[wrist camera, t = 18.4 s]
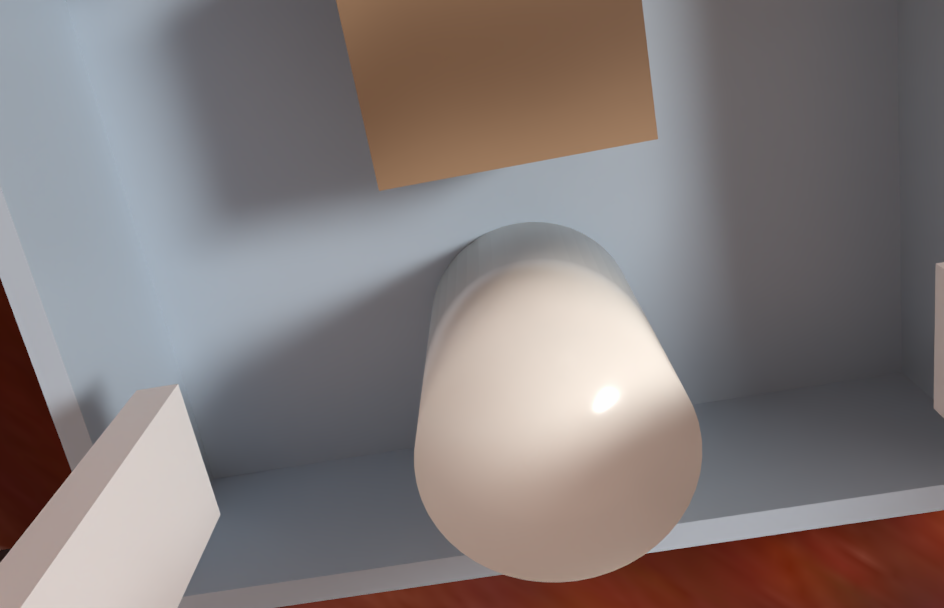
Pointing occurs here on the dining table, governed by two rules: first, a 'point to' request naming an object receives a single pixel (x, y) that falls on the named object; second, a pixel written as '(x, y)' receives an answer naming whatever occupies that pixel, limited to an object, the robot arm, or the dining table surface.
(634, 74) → the walnut cube
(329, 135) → the tote
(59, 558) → the robot arm
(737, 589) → the dining table surface
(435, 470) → the white cylinder
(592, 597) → the dining table surface
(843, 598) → the dining table surface
